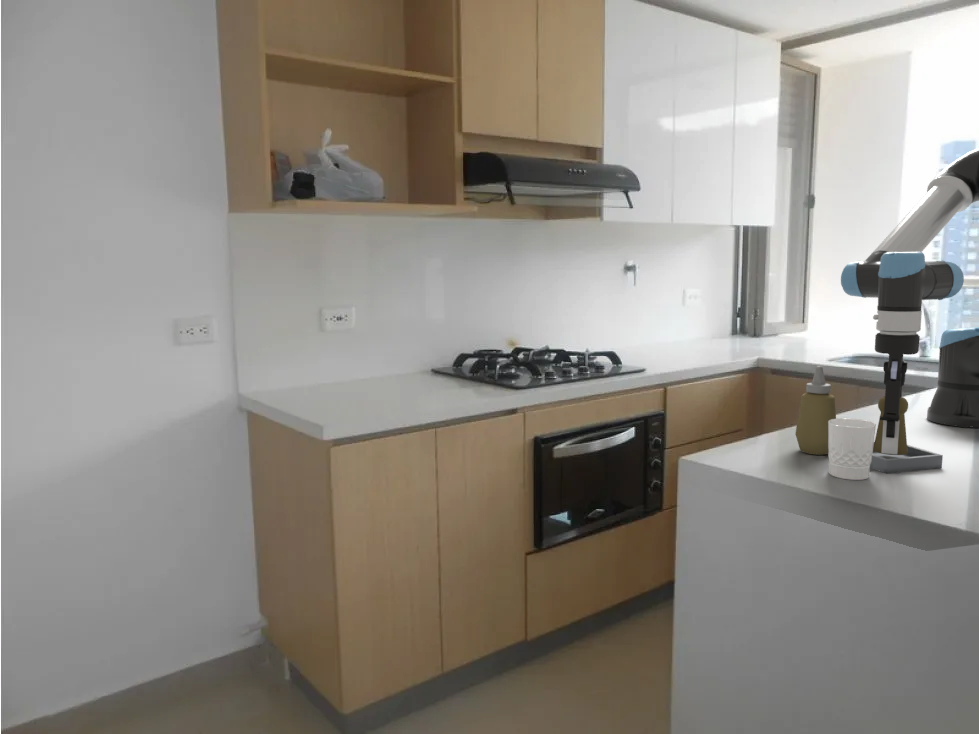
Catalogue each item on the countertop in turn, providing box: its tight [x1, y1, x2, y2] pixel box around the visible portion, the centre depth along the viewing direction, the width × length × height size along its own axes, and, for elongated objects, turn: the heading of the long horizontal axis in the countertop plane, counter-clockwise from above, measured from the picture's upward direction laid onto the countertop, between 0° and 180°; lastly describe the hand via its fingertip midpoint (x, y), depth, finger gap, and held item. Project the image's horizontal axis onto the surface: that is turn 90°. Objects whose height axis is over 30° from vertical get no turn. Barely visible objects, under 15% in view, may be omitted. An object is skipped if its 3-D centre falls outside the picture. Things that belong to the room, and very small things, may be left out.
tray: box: [870, 444, 944, 474], centre depth 148 cm, size 13×13×2 cm
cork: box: [873, 395, 909, 455], centre depth 147 cm, size 6×6×11 cm
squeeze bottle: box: [795, 365, 837, 456], centre depth 155 cm, size 8×8×18 cm
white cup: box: [827, 417, 877, 481], centre depth 139 cm, size 8×8×10 cm
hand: (890, 449), depth 148 cm, fingers closed on cork, 6 cm apart
